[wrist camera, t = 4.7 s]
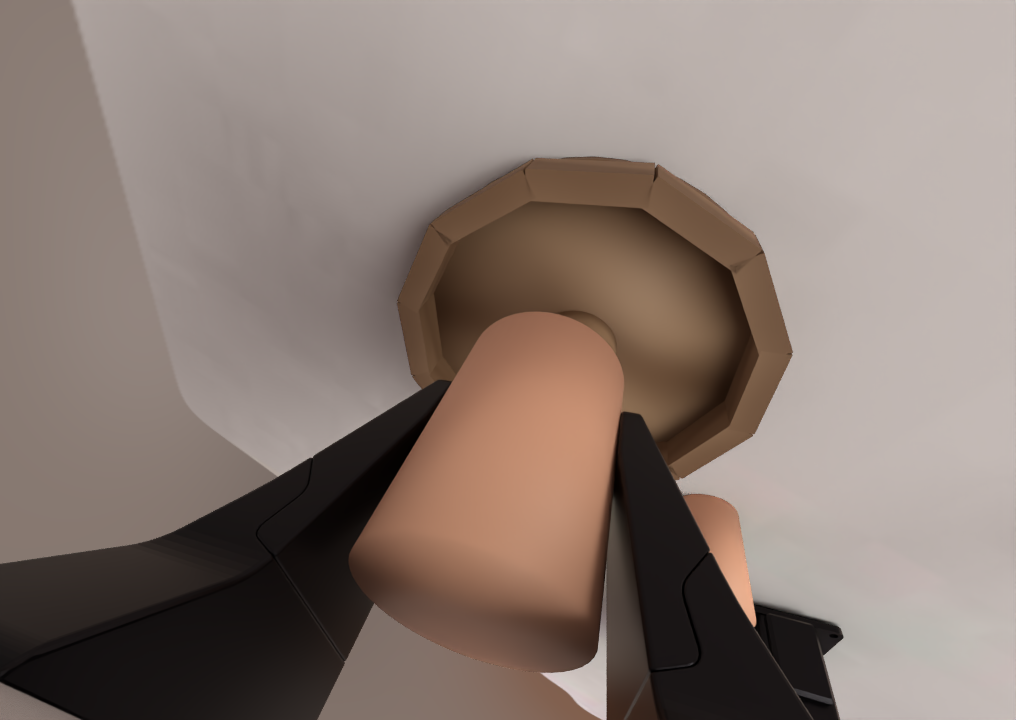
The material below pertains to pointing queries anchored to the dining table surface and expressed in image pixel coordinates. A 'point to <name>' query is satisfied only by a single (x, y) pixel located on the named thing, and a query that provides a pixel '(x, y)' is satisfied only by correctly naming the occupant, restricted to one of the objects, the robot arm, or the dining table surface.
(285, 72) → the dining table surface
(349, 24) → the dining table surface
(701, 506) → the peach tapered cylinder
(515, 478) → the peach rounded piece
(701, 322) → the round tray
